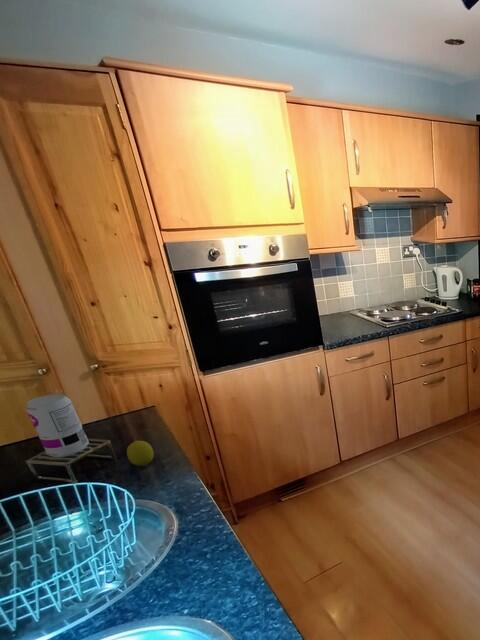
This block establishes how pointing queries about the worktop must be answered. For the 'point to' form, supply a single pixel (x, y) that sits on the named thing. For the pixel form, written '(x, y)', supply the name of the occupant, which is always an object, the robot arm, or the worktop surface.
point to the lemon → (140, 453)
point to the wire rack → (70, 460)
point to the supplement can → (57, 425)
